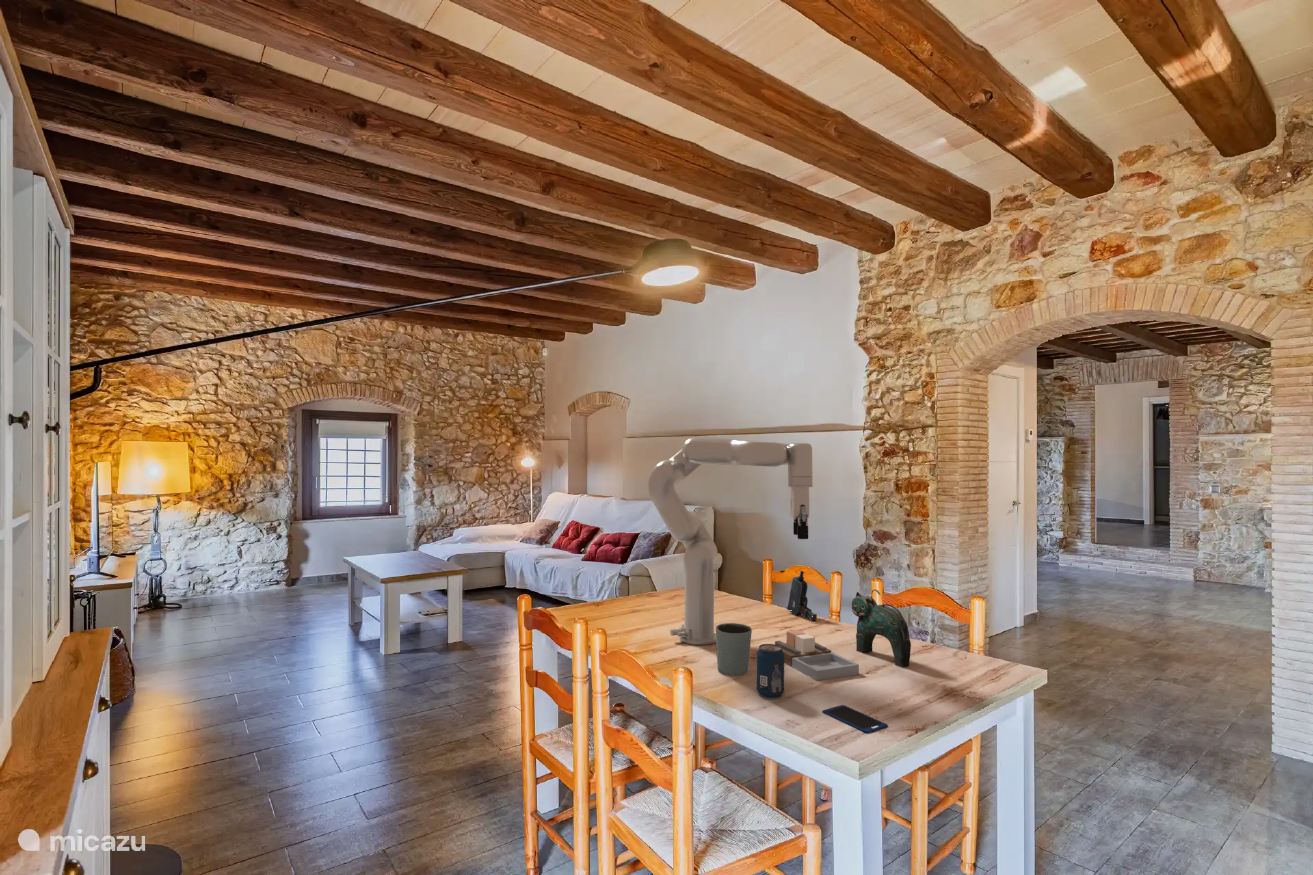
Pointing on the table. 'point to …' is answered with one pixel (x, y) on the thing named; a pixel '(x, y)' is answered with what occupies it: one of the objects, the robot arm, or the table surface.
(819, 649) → the slot board
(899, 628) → the ceramic cat
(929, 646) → the table surface
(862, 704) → the table surface
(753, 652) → the table surface
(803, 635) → the cream block
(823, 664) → the tray
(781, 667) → the soda can
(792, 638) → the terracotta block
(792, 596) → the gun
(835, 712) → the cell phone
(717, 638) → the green cup
